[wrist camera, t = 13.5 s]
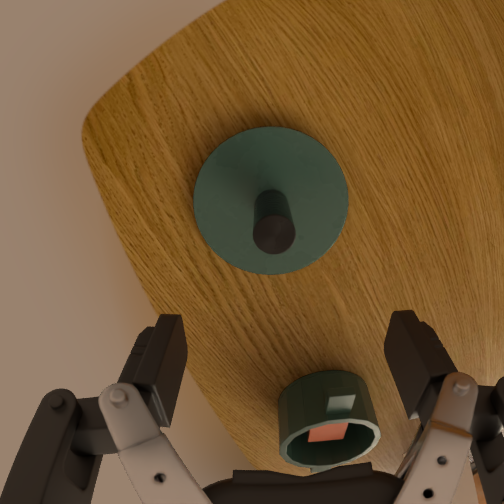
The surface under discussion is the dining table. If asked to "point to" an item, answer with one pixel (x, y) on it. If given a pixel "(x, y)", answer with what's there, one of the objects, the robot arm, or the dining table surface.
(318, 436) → the block
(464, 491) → the grater
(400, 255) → the dining table surface
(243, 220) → the lid
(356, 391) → the pot
